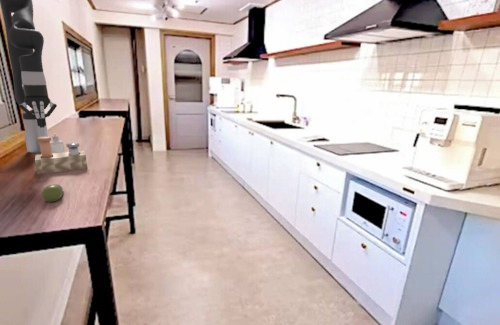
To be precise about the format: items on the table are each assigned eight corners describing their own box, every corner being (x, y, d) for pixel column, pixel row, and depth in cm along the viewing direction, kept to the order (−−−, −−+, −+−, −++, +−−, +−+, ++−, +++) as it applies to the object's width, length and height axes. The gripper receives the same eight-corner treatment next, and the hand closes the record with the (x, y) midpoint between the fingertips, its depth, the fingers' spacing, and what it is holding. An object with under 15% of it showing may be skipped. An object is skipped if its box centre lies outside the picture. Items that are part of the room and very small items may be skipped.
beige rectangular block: (37, 174, 117) (34, 160, 116) (38, 168, 125) (35, 155, 123) (87, 168, 127) (85, 154, 125) (85, 162, 134) (83, 150, 133)
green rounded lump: (38, 188, 89) (46, 182, 99) (40, 204, 90) (48, 197, 99) (59, 185, 92) (65, 180, 101) (61, 202, 92) (67, 195, 101)
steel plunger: (70, 168, 125) (66, 145, 122) (69, 165, 129) (66, 143, 126) (82, 166, 128) (79, 144, 125) (81, 163, 132) (78, 142, 129)
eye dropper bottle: (64, 158, 141) (60, 134, 137) (50, 158, 139) (46, 134, 135) (66, 155, 145) (62, 132, 141) (53, 156, 143) (49, 132, 139)
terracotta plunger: (40, 163, 119) (36, 139, 116) (41, 160, 123) (37, 137, 120) (54, 161, 121) (50, 138, 119) (54, 158, 125) (50, 136, 122)
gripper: (54, 83, 120) (61, 125, 125) (14, 83, 113) (22, 127, 117) (54, 84, 114) (61, 127, 119) (12, 83, 107) (21, 129, 111)
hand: (42, 127), depth 118 cm, fingers closed
